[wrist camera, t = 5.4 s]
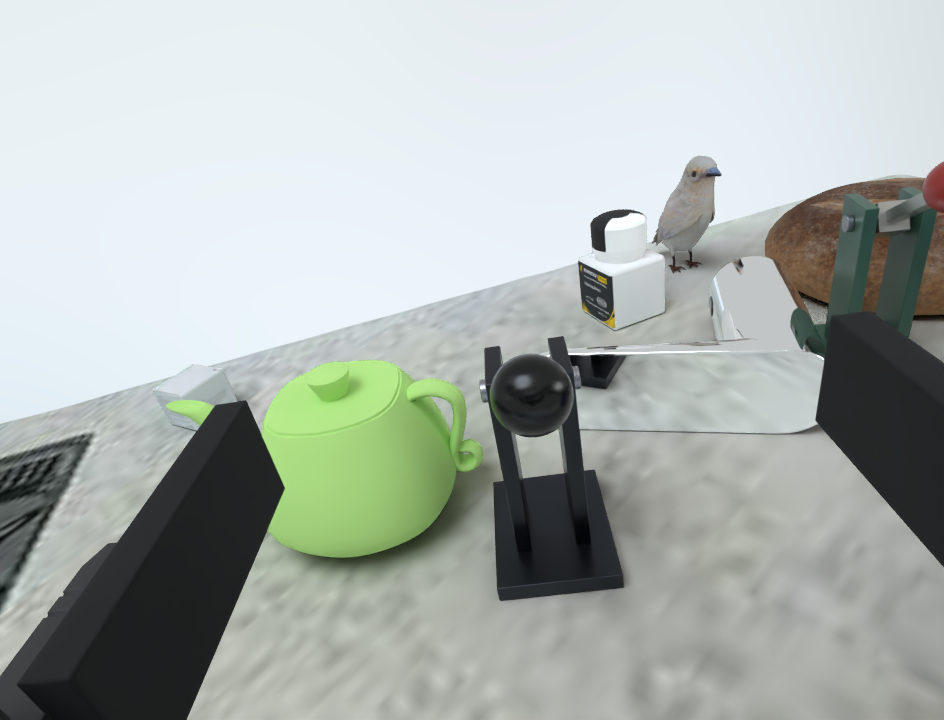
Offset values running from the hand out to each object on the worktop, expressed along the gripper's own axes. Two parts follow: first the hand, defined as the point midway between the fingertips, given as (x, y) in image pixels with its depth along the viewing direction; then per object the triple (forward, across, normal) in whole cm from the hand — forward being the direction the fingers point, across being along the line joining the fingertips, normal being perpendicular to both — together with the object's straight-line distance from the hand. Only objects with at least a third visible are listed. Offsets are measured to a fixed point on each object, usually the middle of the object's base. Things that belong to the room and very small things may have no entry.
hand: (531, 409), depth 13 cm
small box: (+42, -37, -24) cm, 61 cm away
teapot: (+24, -15, -24) cm, 37 cm away
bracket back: (+35, +31, -24) cm, 53 cm away
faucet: (+37, +13, -24) cm, 46 cm away
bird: (+62, +23, -24) cm, 70 cm away
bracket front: (+18, 0, -24) cm, 30 cm away
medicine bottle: (+52, +12, -24) cm, 58 cm away
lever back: (+30, +30, -10) cm, 43 cm away
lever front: (+13, 0, -10) cm, 16 cm away
